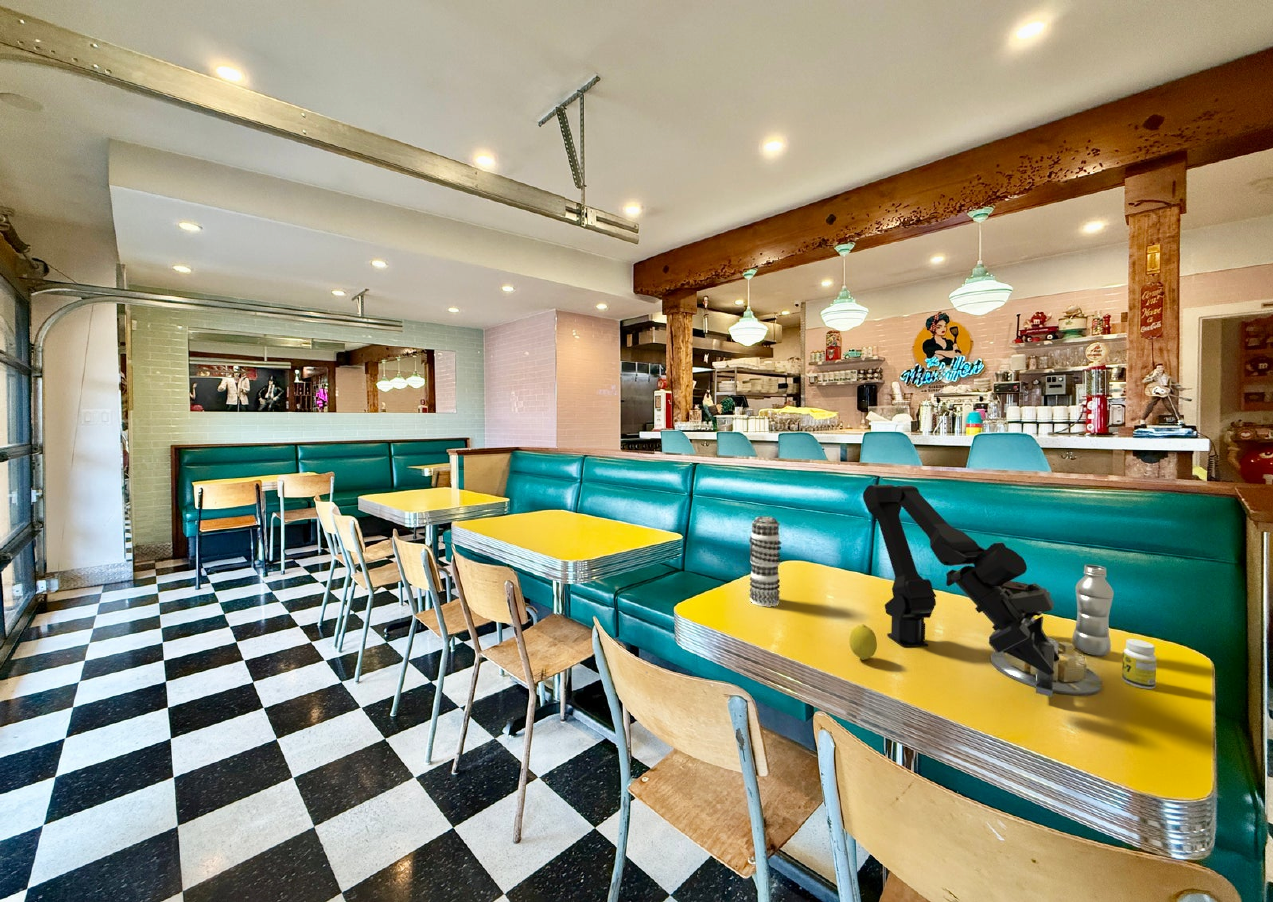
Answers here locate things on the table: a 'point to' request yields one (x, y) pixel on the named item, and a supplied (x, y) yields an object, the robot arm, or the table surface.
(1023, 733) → the table surface
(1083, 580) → the plastic bottle
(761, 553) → the decorative candle
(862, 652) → the lemon
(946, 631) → the table surface
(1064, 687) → the cap flange
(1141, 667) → the supplement bottle
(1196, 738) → the table surface
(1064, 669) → the tan toy bricks
